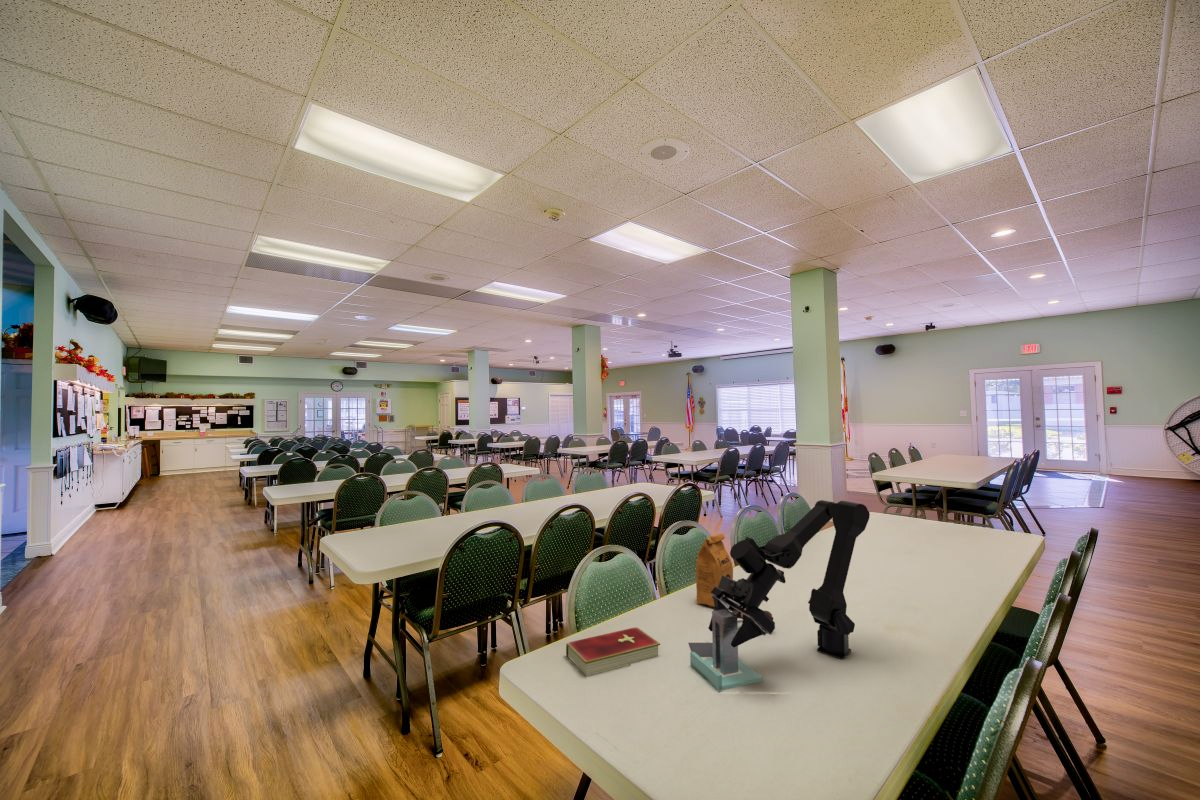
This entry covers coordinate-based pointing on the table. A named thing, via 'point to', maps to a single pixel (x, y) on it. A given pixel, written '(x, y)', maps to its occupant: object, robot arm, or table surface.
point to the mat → (702, 649)
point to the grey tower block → (724, 641)
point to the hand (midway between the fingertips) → (720, 637)
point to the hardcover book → (611, 650)
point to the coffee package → (711, 568)
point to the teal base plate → (720, 680)
